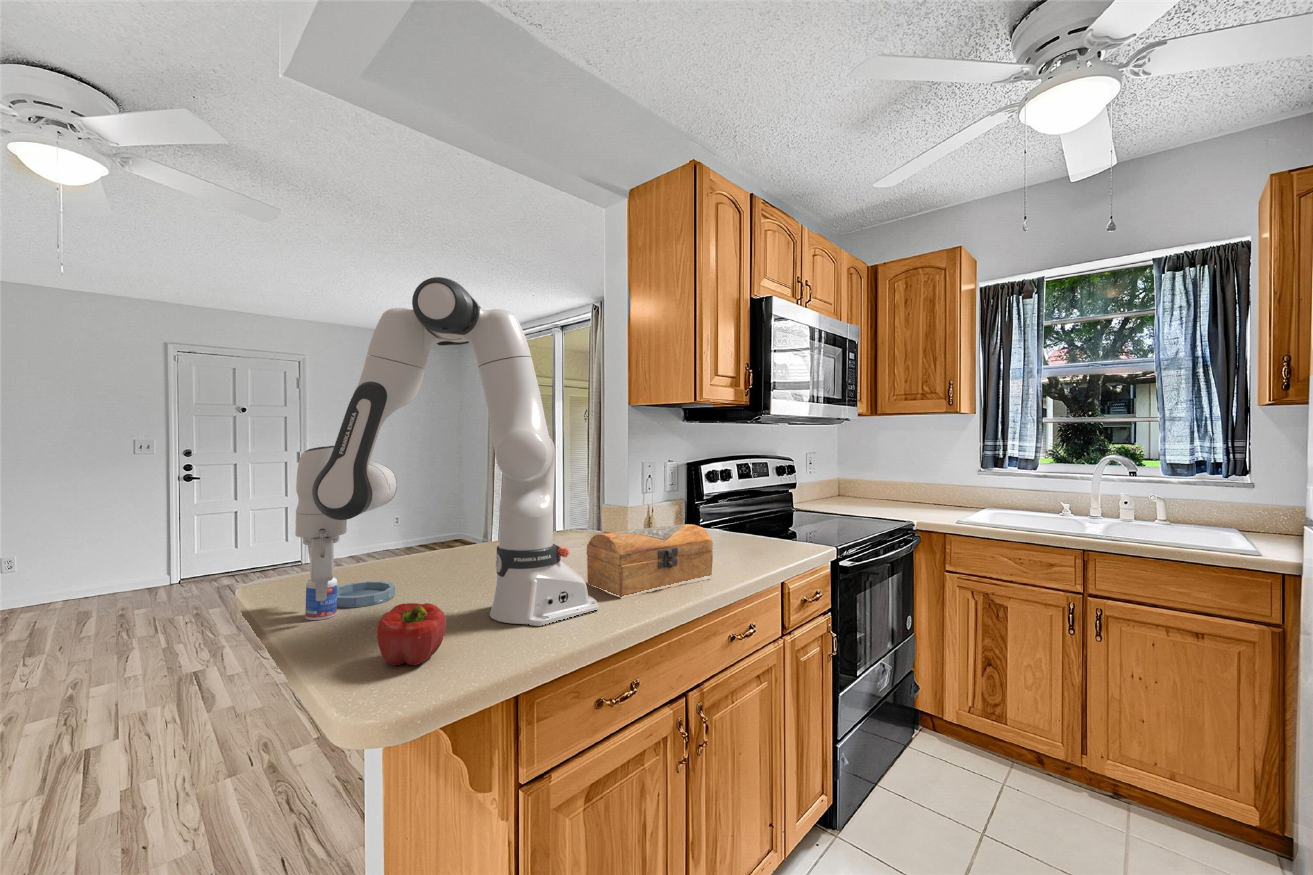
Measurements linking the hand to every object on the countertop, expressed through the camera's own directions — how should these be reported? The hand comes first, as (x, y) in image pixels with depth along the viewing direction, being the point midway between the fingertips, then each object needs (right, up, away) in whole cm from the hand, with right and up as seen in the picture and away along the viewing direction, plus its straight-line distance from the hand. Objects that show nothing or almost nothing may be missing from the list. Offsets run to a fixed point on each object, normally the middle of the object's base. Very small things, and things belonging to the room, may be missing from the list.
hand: (320, 593), depth 110 cm
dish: (+2, -5, +12) cm, 13 cm away
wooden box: (+67, -6, +29) cm, 73 cm away
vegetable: (+28, -5, -21) cm, 36 cm away
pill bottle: (0, -5, 0) cm, 5 cm away
